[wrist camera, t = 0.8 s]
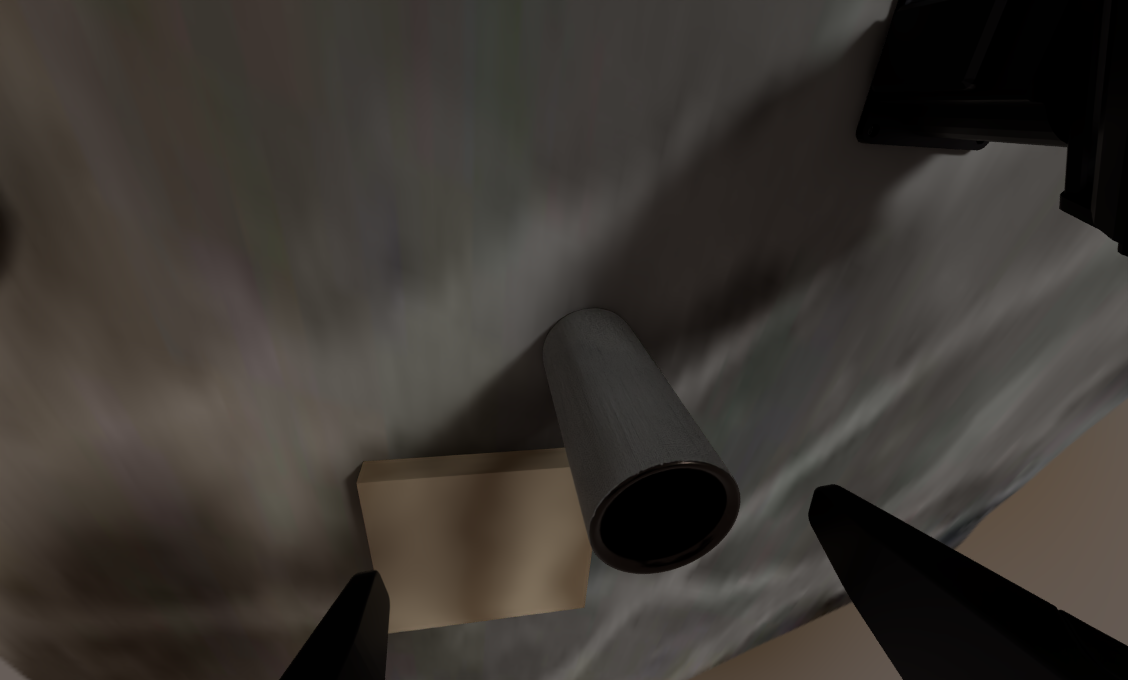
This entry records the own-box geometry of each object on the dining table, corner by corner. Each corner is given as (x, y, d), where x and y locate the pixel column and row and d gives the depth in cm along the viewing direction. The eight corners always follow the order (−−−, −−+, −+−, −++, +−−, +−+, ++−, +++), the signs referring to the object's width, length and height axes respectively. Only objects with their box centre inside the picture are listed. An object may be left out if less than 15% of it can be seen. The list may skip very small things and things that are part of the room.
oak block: (594, 439, 25) (602, 464, 23) (578, 578, 31) (584, 607, 29) (365, 454, 23) (356, 483, 21) (392, 601, 28) (386, 633, 27)
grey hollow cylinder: (591, 403, 23) (664, 593, 14) (522, 360, 21) (555, 545, 12) (652, 340, 22) (772, 502, 13) (584, 288, 20) (671, 435, 11)
